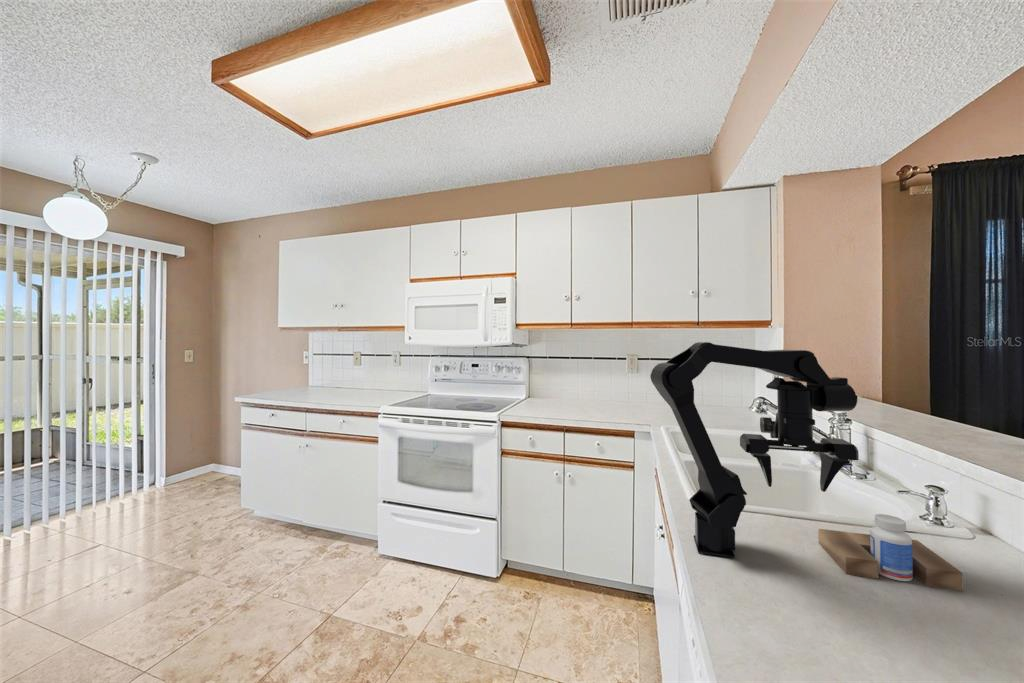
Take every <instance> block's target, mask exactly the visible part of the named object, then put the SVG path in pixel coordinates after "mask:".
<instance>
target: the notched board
mask: <svg viewBox="0 0 1024 683" xmlns="http://www.w3.org/2000/svg"><path fill="white" fill-rule="evenodd" d="M817 533H818V539H817V540H818V545H820V546H821V547H822V549H823V550H824V551H825V552H826V553H827V554H828V556H830V558H831V559H832V560H833V561H834V563H836V564H837V566H838V567H839V568H840V569H841V570H842V571H843V573H844V574H846V575H852V576H859V577H866V578H873V579H879V573H878V561H877V560H876V559H875V558H874V557H873V556H872V555H871V547H870V533H869V534H867V533H861V532H860V533H858V532H850V531H841V530H833V529H823V528H818V532H817ZM912 561H913V576H915V578H918V579H919V580H920V581H921V582H922V583H923V584H924V585H925V586H928V587H934V588H942V589H948V590H956V591H961V592H962V591H964V590H963V588H964V587H963V585H964V584H963V582H964V581H963V572H962V571H961V570H959V569H958V568H957V567H955V566H953V565H952V564H951V563H950V562H948V561H946V560H945V559H944V558H943V557H941V556H940V555H939V554H937V553H935V552H934V551H933V550H932V549H930V548H929V547H927V546H925V544H923V543H922V542H921V541H919V540H918V539H912Z"/></svg>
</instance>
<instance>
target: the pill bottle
mask: <svg viewBox="0 0 1024 683" xmlns="http://www.w3.org/2000/svg"><path fill="white" fill-rule="evenodd" d="M906 523H907V522H906V521H905V520H904V519H902V518H900V517H898V516H895V515H889V514H884V513H877V514H875V515H874V524H875V525H873V526H872V527H871V528H870V530H869V531H870V532H869V535H870V547H871V555H872V556H873V557H874V558H875V559H876V560H877V561H878V575H881V576H883V577H885V578H887V579H891V580H895V581H897V582H898V581H899V582H910V581H912V580H913V578H914V574H913V561H912V540H913V539H912V537H911V536H910V535H909V534H908V533H907V532H906V530H907V524H906Z"/></svg>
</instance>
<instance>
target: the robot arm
mask: <svg viewBox="0 0 1024 683" xmlns="http://www.w3.org/2000/svg"><path fill="white" fill-rule="evenodd" d="M710 363H716V364H725V365H733V366H740V367H747V368H754V369H758V370H761V371H763V372H765V373H769V374H772V375H775V377H774V379H773V380H772V381H770V382H768V383H767V384H766V385H765V388H766V389H770V390H775V391H776V390H777V394H776V395H777V396H776V397H777V413H776V414H775V420H773V419H772V417H767V416H766V417H763V416H761V417H760V418H759V427H760V428H759V429H760V432H761V433H763V434H770V438H771V439H768V438H766V437H765V436H764V435H762V434H757V433H756V434H755V433H754V434H753V433H742V434H741V435H740V437H739V446H740V447H741V449H742V450H743V451H745V453H747V454H750V455H751V456H752V457H753V458H755V459H756V460H757V463H758V464H759V466H760V468H761V472H762V474H763V477H764V479H765V481H766V485H767V487H770V488H771V487H772V486H773V485H772V483H773V476H772V475H773V474H772V459H771V455H770V454H768V452H769V451H770V450H778V451H779V450H781V451H793V452H794V451H795V452H796V451H797V452H811V453H813V452H814V453H819V459H820V476H819V477H820V478H819V485H820V490H821V491H822V492H824V493H825V492H826V491H827V489H828V488H829V486H830V484H831V483H832V481H833V480H834V479H835V477H836V475H838V473H839V471H841V469H843V467H844V466H845V465H850V464H851V461H859V459H860V458H859V457H860V456H859V450H858V447H857V446H856V445H855V444H853V443H852V442H849V441H847V440H845V439H843V438H828V437H822V438H821V440H820V442H817V441H816V440H814V434H813V433H814V432H813V431H814V429H813V428H814V426H816V420H815V419H814V418H813V417H814V415H813V411H816V412H851V411H853V410H854V409H855V408H856V406H857V404H858V396H857V394H856V391H855V389H854V388H853V387H852V386H851V385H850V384H849V380H848V378H846V377H840V376H836V377H835V376H834V377H830V376H829V375H828V374H827V372H826V371H825V370H824V369H823V368H822V366H821V365H820V363H819V362H818V358H817V357H816V355H815V353H814V352H812V351H810V350H807V349H806V350H802V349H771V350H759V349H752V348H745V347H744V348H743V347H738V346H737V347H736V346H729V345H721V344H715V343H712V342H710V341H709V342H708V341H707V342H706V341H705V342H704V341H703V342H702V341H701V342H699V341H697V342H695V343H693V344H692V345H691V346H689V347H688V348H686V349H685V350H684V351H682V352H680V353H678V354H676V355H675V356H673V357H671V358H670V359H669V360H667V361H666V362H661V363H657V364H656V365H655V366H654V367H653V368H652V370H651V373H650V375H649V376H650V380H651V383H652V385H653V386H654V388H655V389H656V390H657V392H658V393H659V395H660V396H661V397H662V399H663V400H664V401H665V402H666V403H667V404H668V406H669V408H670V409H671V410H672V413H673V415H674V417H675V421H676V422H677V424H678V426H679V429H680V431H681V433H682V436H683V438H684V440H685V442H686V444H687V447H688V449H689V451H690V453H691V456H692V458H693V460H694V462H695V465H696V467H697V470H698V472H697V480H698V486H699V489H698V491H696V492H695V493H694V494H693V495H692V496H691V497H690V498H689V499H688V500H689V503H690V506H691V509H693V510H694V511H695V512H694V530H695V532H694V535H693V539H694V544H695V548H696V551H697V553H699V554H705V555H710V556H717V557H724V558H730V559H731V558H732V559H735V553H734V551H736V530H735V528H736V527H737V526H738V525H737V524H738V522H739V519H740V517H741V514H742V511H744V509H745V506H746V505H747V500H746V495H748V493H747V492H746V490H744V488H743V486H742V482H741V478H740V477H739V475H738V474H737V473H736V472H733V471H732V470H730V469H728V468H727V467H725V466H724V465H722V463H721V460H720V458H719V457H718V454H717V451H716V450H715V447H714V445H713V443H712V441H711V438H710V436H709V434H708V431H707V429H706V426H705V425H704V422H703V421H702V417H701V415H700V413H699V410H698V408H697V407H696V405H695V404H696V403H695V388H694V387H695V386H694V383H693V380H695V379H696V378H697V377H698V376H699V375H701V374H702V373H703V371H704V370H705V369H706V367H708V365H709V364H710ZM777 376H778V377H777ZM784 378H788V379H791V380H785V379H784ZM804 383H806V385H805V384H804Z"/></svg>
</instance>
